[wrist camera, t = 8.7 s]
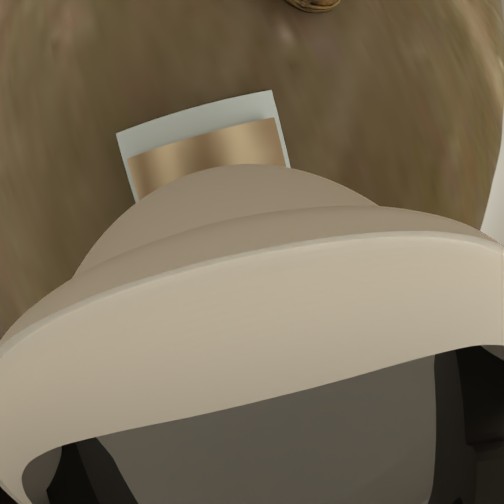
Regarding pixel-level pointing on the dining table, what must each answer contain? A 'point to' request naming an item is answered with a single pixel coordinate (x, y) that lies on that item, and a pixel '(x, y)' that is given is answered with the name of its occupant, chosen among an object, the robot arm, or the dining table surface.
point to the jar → (251, 345)
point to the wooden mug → (314, 5)
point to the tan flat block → (207, 154)
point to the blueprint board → (197, 125)
